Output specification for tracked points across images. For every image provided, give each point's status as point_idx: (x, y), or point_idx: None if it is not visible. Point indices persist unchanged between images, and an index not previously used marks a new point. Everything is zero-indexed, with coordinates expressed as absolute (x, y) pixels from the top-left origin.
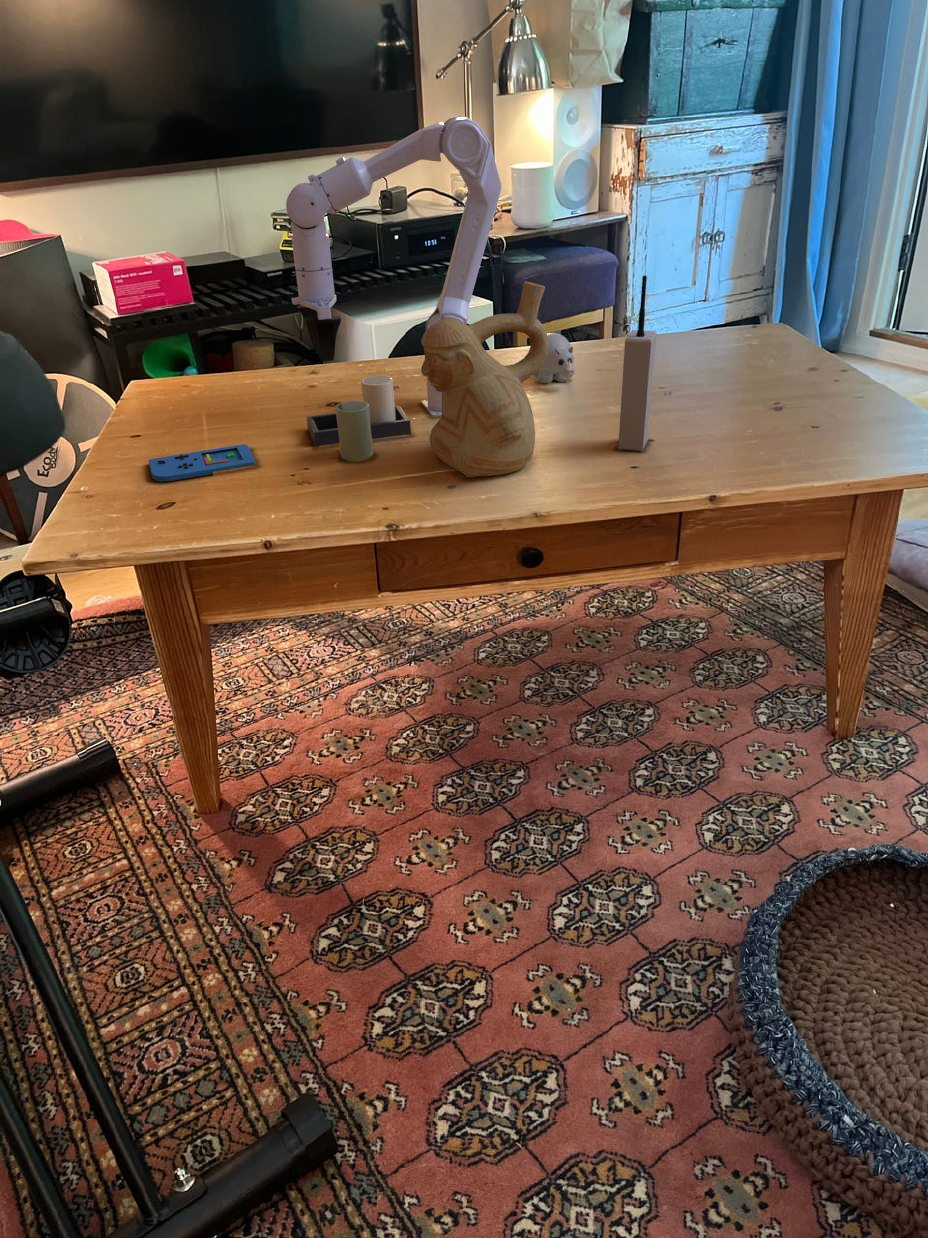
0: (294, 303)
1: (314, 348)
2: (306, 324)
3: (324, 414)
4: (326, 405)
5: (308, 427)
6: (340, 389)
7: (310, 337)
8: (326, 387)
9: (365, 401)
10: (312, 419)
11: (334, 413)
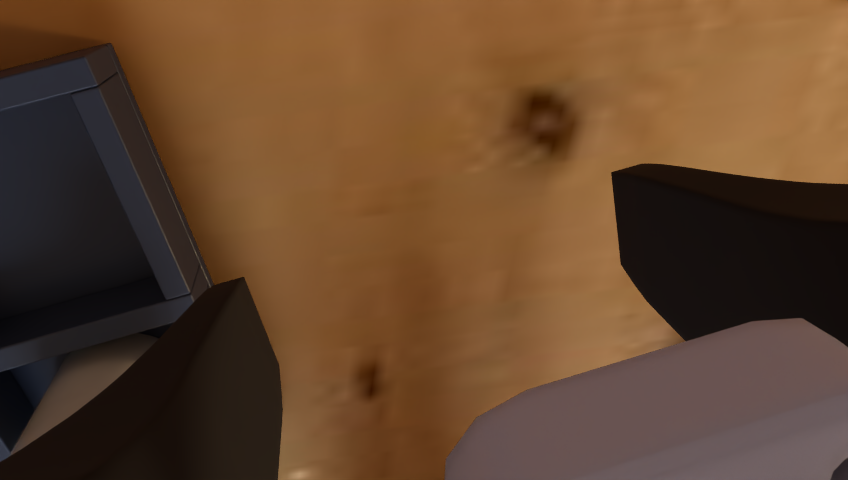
0: (460, 465)
1: (613, 176)
2: (764, 211)
3: (124, 161)
4: (538, 91)
5: (72, 54)
6: (760, 135)
7: (668, 186)
8: (816, 60)
9: (20, 449)
10: (23, 101)
11: (145, 215)
